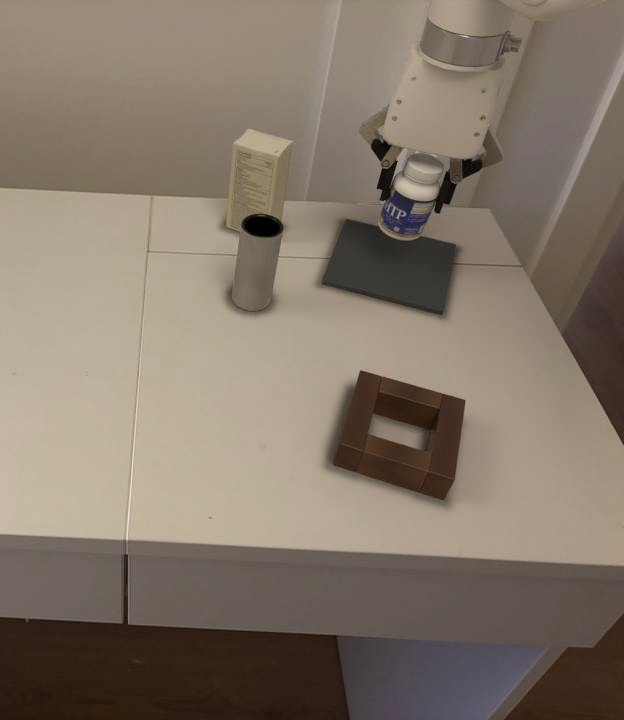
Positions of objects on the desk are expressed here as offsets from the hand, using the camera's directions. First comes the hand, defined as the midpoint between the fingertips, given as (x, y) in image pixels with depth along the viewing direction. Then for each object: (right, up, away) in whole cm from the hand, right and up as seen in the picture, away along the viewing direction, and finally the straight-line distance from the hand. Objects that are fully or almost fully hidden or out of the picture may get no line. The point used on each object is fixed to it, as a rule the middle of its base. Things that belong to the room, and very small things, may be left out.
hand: (411, 199), depth 85 cm
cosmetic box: (-16, -1, +12) cm, 20 cm away
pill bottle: (0, -3, +3) cm, 4 cm away
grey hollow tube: (-18, -11, +2) cm, 21 cm away
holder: (-6, -26, -13) cm, 30 cm away
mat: (0, -7, +7) cm, 9 cm away
